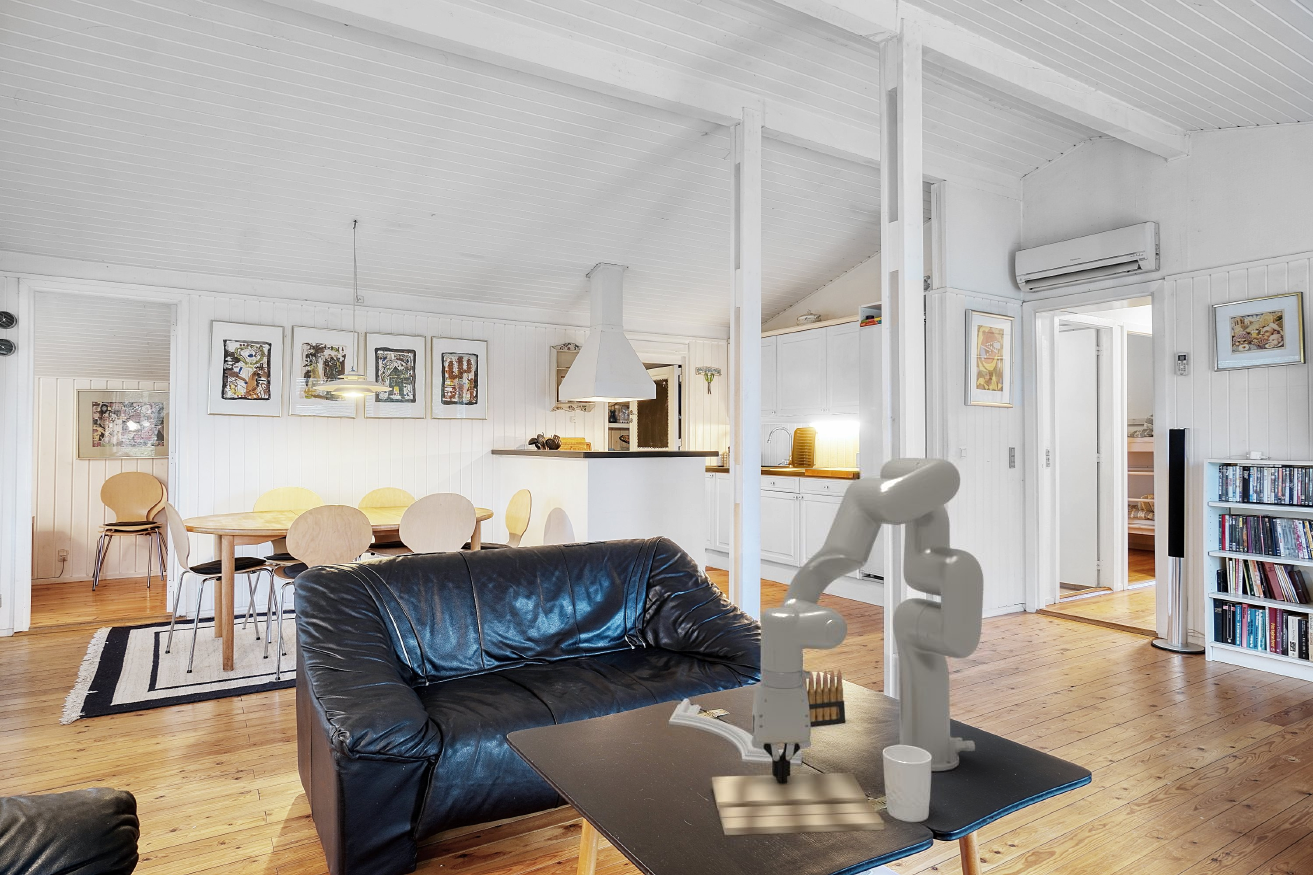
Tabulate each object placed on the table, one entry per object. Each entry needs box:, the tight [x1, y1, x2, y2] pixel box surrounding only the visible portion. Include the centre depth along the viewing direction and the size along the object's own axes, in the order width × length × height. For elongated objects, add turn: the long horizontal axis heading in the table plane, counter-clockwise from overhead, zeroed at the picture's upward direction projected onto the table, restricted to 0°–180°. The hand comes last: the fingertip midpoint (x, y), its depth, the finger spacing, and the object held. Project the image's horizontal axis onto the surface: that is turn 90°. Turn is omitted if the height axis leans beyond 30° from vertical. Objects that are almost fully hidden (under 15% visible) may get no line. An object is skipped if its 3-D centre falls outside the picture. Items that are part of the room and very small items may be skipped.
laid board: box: [718, 802, 885, 836], centre depth 127 cm, size 26×7×1 cm, turn 93°
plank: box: [711, 772, 869, 812], centre depth 136 cm, size 26×9×1 cm, turn 93°
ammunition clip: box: [804, 668, 846, 728], centre depth 173 cm, size 11×2×12 cm, turn 106°
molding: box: [668, 698, 803, 767], centre depth 167 cm, size 42×12×3 cm, turn 33°
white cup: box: [882, 744, 932, 823], centre depth 131 cm, size 8×8×10 cm
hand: (781, 779), depth 139 cm, fingers closed
